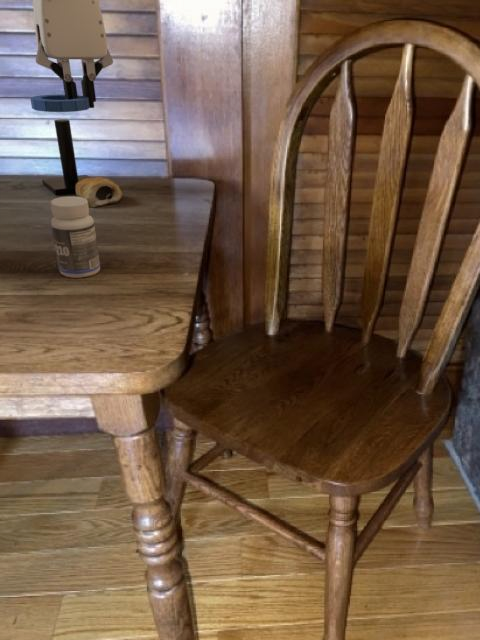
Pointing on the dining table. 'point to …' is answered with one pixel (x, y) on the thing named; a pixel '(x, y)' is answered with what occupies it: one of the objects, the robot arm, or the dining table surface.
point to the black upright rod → (65, 162)
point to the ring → (59, 103)
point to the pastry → (98, 191)
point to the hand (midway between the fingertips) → (81, 106)
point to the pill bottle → (74, 237)
